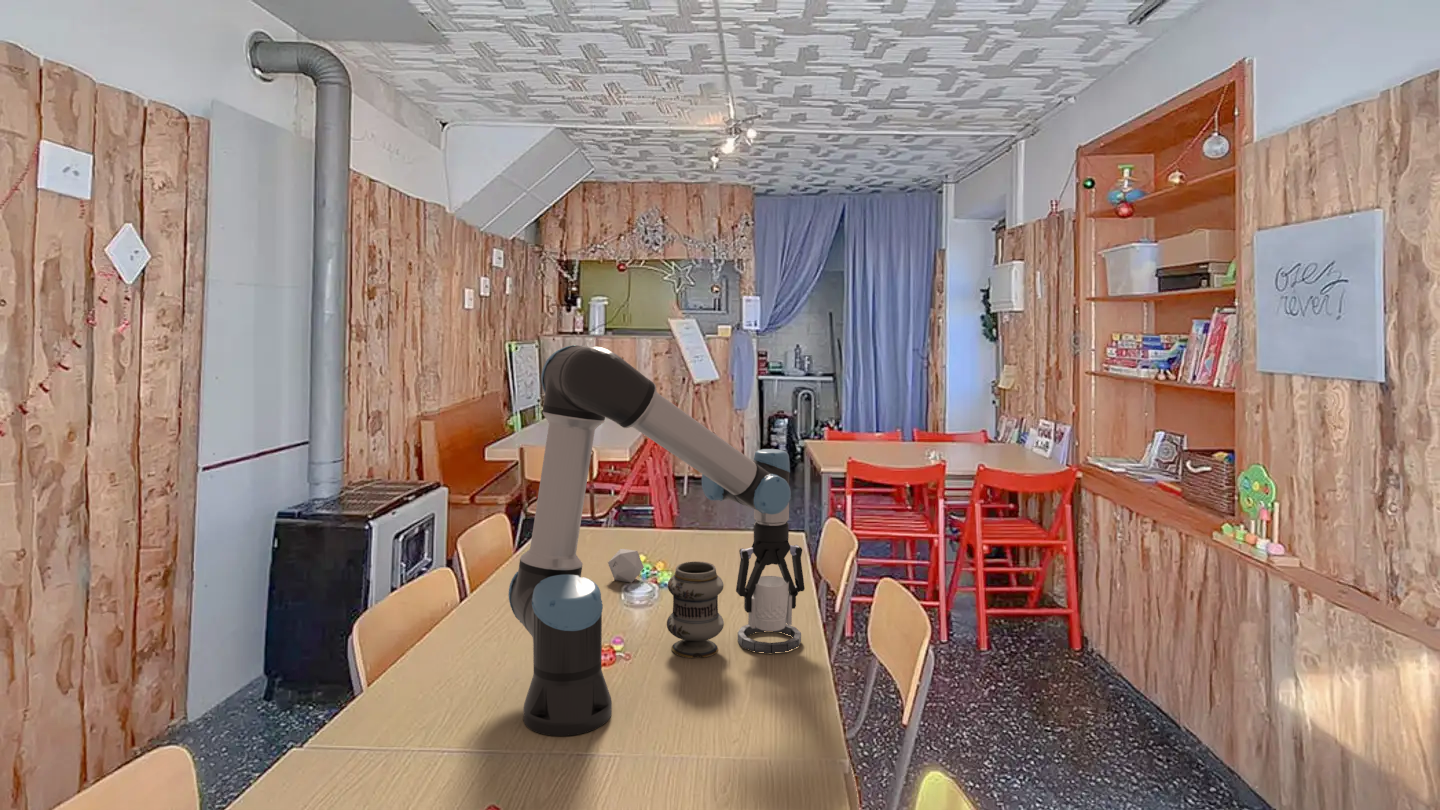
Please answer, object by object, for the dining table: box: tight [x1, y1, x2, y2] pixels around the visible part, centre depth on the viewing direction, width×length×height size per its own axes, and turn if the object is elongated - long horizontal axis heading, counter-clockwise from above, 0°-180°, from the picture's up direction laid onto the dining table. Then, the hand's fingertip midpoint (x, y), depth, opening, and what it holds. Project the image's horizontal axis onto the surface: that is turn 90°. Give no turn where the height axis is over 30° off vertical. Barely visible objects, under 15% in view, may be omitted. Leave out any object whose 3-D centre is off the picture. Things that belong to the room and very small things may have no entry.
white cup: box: [753, 575, 789, 631], centre depth 173 cm, size 8×8×10 cm
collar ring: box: [737, 623, 802, 654], centre depth 174 cm, size 13×13×2 cm
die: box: [607, 548, 645, 583], centre depth 217 cm, size 8×9×10 cm
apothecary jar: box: [666, 560, 725, 659], centre depth 169 cm, size 12×12×18 cm
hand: (769, 624), depth 174 cm, fingers closed on white cup, 8 cm apart
